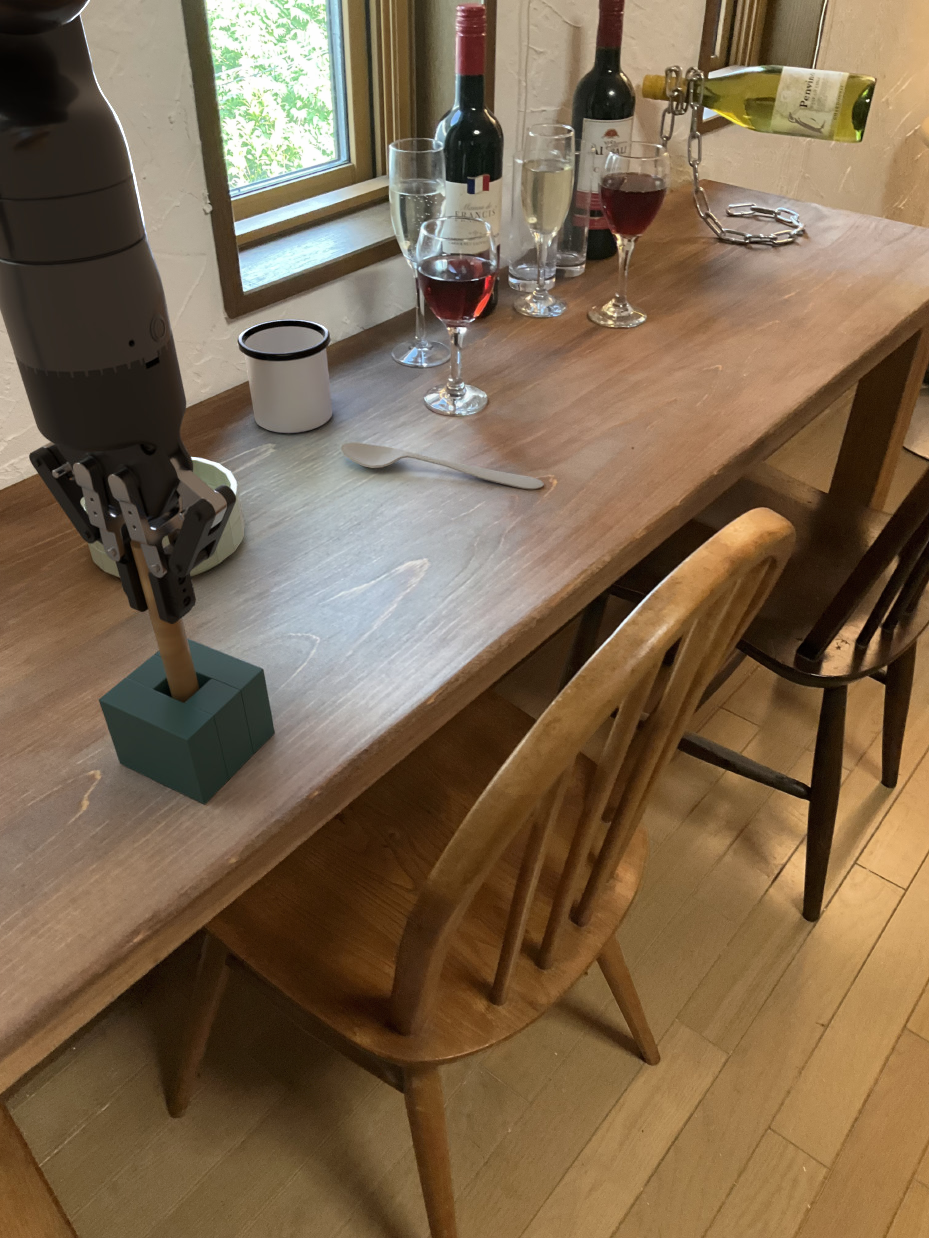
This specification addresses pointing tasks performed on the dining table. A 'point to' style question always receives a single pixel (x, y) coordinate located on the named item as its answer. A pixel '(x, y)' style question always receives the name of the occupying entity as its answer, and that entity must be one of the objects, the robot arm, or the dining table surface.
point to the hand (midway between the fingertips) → (163, 608)
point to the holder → (190, 722)
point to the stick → (168, 638)
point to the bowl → (231, 535)
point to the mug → (288, 374)
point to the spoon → (387, 455)
